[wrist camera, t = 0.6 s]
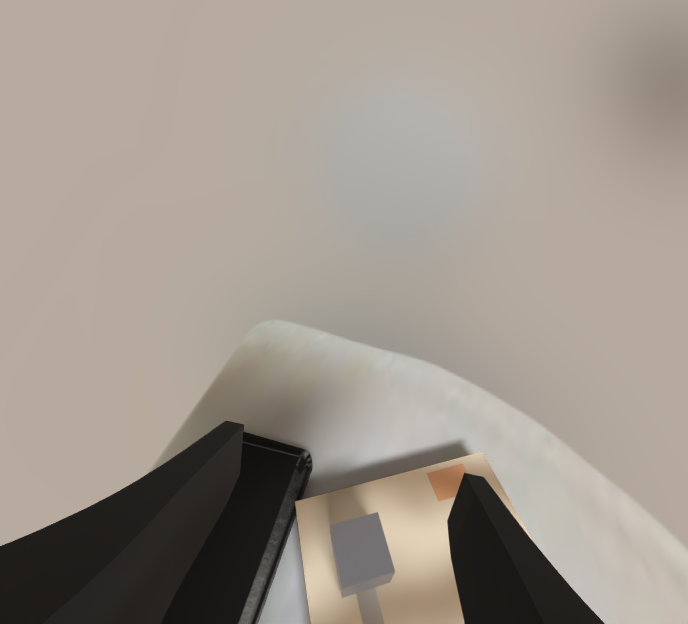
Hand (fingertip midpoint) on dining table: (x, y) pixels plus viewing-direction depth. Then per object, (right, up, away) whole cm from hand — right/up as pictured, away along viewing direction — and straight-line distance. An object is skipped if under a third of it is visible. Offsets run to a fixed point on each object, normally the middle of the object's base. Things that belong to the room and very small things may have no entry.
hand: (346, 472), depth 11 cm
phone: (-8, -12, +13) cm, 20 cm away
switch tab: (+1, -11, +10) cm, 15 cm away
